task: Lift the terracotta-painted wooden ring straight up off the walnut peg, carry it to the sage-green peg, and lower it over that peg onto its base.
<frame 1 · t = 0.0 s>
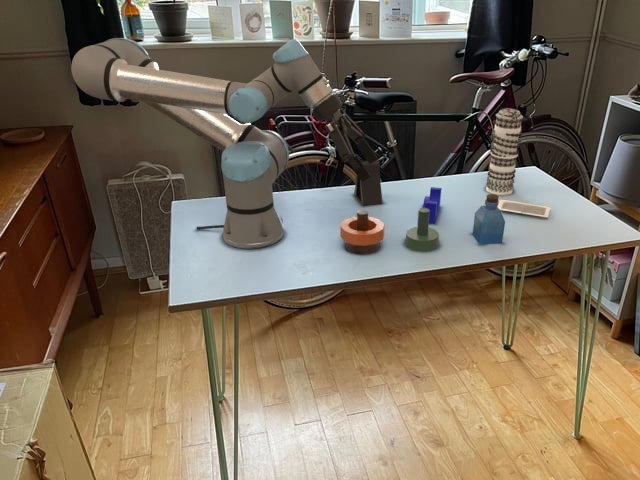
hand: (370, 170, 153), 15 cm above the table, tool tilted 35°, fingers open, 13 cm apart
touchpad: (522, 212, 171), on the table
phone stand: (368, 199, 176), on the table
sage peg: (421, 243, 151), on the table
ring: (362, 235, 147), point 3 cm above the table, touching walnut peg
perfume bottle: (486, 239, 155), on the table
decorative candle: (499, 190, 185), on the table
walnut peg: (362, 246, 149), on the table
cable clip: (429, 215, 167), on the table
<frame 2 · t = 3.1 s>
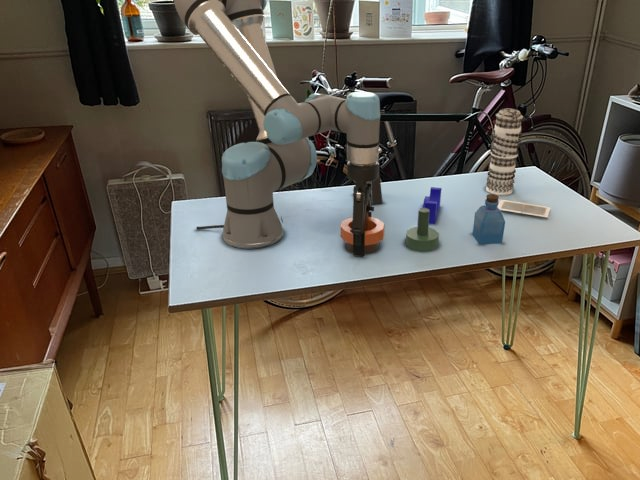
hand: (362, 244, 149), 0 cm above the table, tool pointing down, fingers closed on ring, 11 cm apart
ring: (362, 235, 147), point 3 cm above the table, touching gripper, walnut peg
everything else where it was.
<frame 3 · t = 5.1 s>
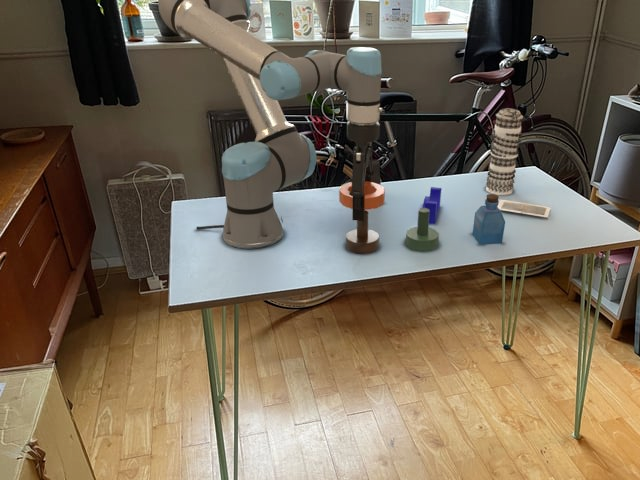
hand: (361, 210, 144), 10 cm above the table, tool pointing down, fingers closed on ring, 11 cm apart
ring: (362, 200, 143), point 12 cm above the table, touching gripper
everything else where it was.
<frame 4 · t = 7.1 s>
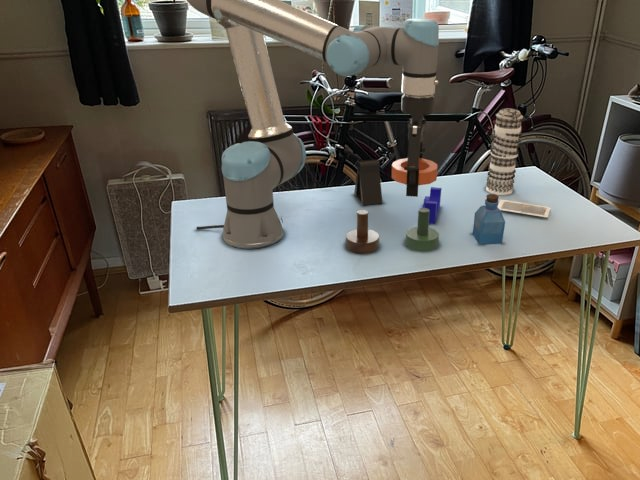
hand: (413, 187, 142), 16 cm above the table, tool pointing down, fingers closed on ring, 11 cm apart
ring: (414, 177, 141), point 18 cm above the table, touching gripper
everything else where it was.
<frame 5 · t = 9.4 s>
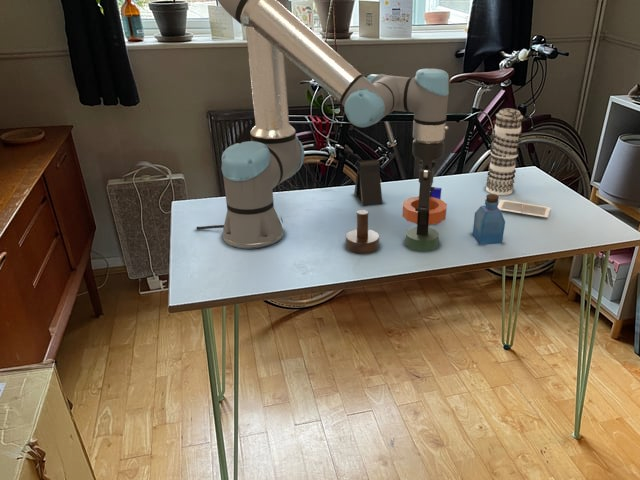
hand: (423, 224, 148), 5 cm above the table, tool pointing down, fingers closed on ring, 11 cm apart
ring: (424, 215, 147), point 8 cm above the table, touching gripper
everything else where it was.
when the fingers open (0 cm above the table, at t = 11.3 s): ring stays where it is, resting on sage peg.
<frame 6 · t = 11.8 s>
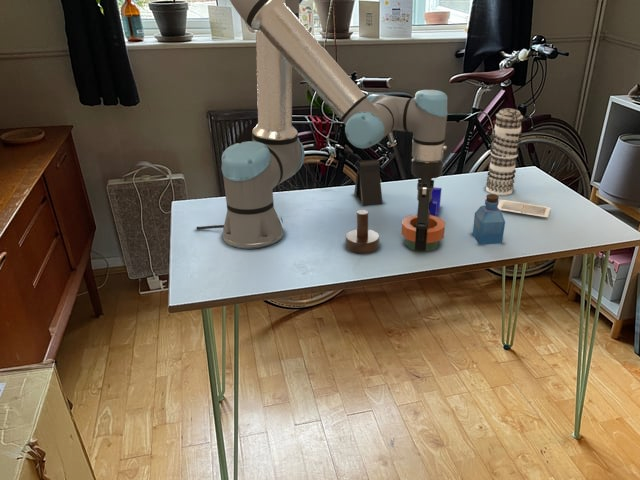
hand: (421, 238, 150), 2 cm above the table, tool pointing down, fingers open, 13 cm apart
ring: (422, 233, 149), point 3 cm above the table, touching sage peg
everything else where it was.
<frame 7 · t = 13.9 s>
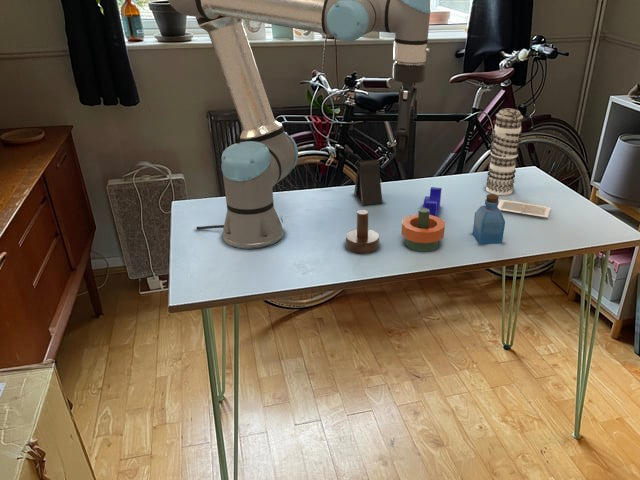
hand: (404, 152, 144), 22 cm above the table, tool pointing down, fingers open, 13 cm apart
nothing on the table moved.
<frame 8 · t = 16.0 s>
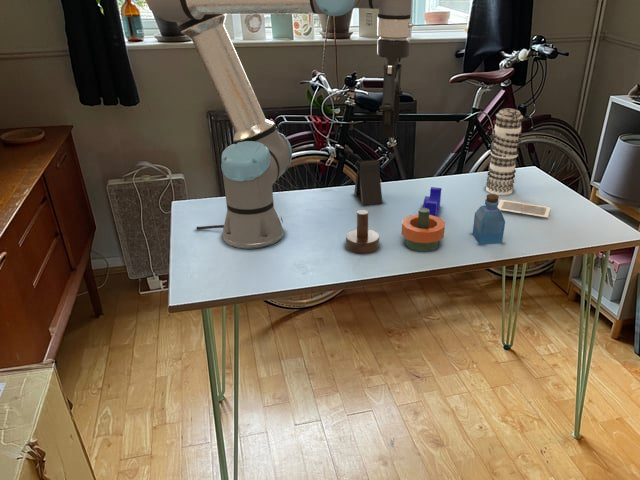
hand: (390, 129, 146), 27 cm above the table, tool pointing down, fingers open, 13 cm apart
nothing on the table moved.
at the end: ring moved 15.6 cm from its start; ring 0.1 cm off-centre on the sage peg, point 3.0 cm above the sage peg's base; ring tilted 0° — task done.
